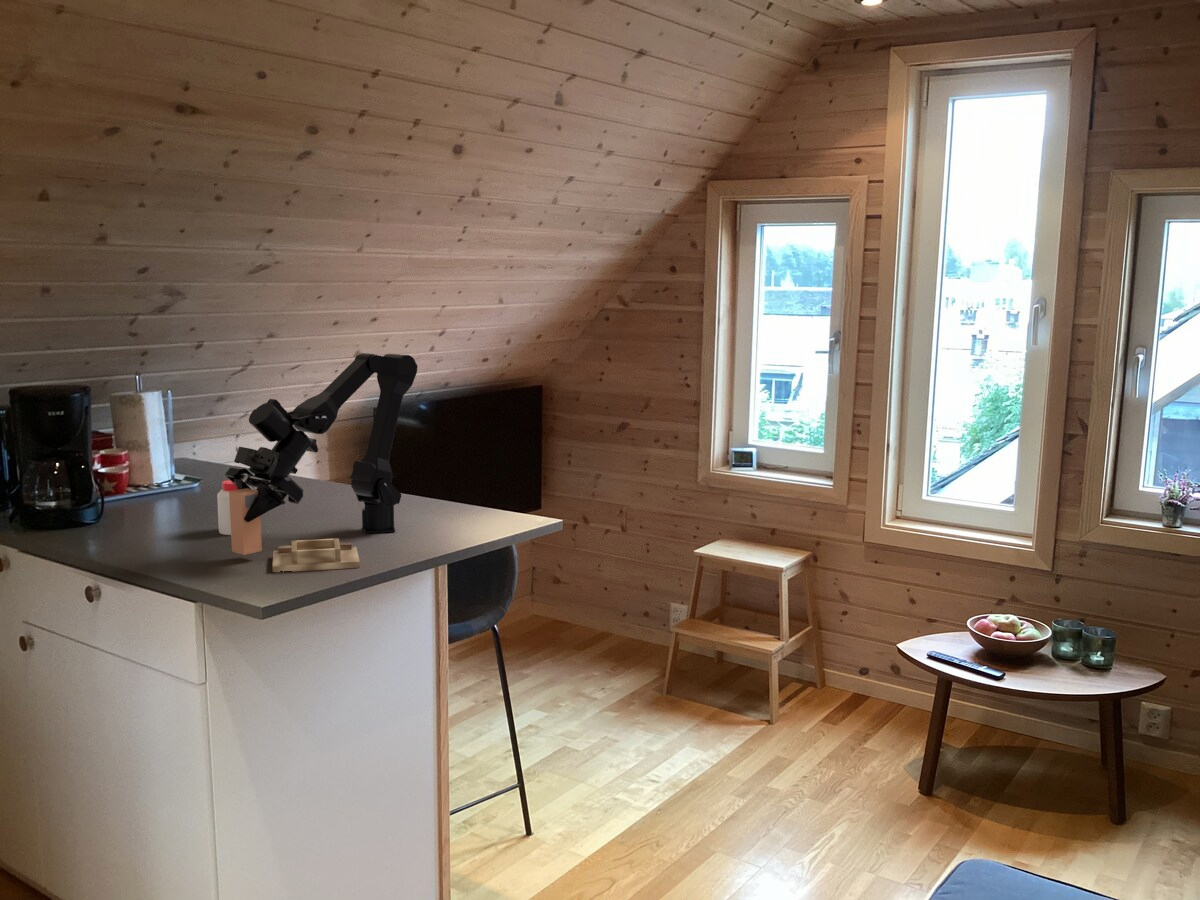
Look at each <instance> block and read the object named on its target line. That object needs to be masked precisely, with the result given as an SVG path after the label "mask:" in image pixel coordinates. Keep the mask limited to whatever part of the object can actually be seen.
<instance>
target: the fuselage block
mask: <svg viewBox="0 0 1200 900" xmlns="http://www.w3.org/2000/svg"><path fill="white" fill-rule="evenodd" d="M257 495H258V491H257V490H252V489H248V488H246V489H241V490H235V491H229V500H230V521H231V535H230V537H231V552H232V553H236V554H238V555H239V554H240V555H243V556H244V555H250V554H254V553H258V552H262V551H263V549H262V526H261V525H262V523H261V516H259V517H257V518H255V519H254V520H252V521H250V522H246V521H245V520H244V518H245V516H246V514H247V512H248V510H249V509H250V507H251V505H252V504H253V502H254V500H255V499H256V497H257Z"/></svg>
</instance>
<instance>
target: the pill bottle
mask: <svg viewBox="0 0 1200 900" xmlns="http://www.w3.org/2000/svg"><path fill="white" fill-rule="evenodd" d="M221 484H222V485H221V486H222V489H220V491H218V492H217V495H216V496H217V519H218V522H217V523H218V533H219V534H221V535H226V536H231V521H230V500H229V491H235V490H238V489H237V486H236V485H235V484H233V483H232V482H231V481H230V480H229V479H227V480H223V481H222V482H221Z"/></svg>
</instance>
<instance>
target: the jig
mask: <svg viewBox="0 0 1200 900" xmlns="http://www.w3.org/2000/svg"><path fill="white" fill-rule="evenodd" d="M360 567H361V561H360V555H359V552H358V549H357V546H352V542H350V541H349V542H340V539H339V538H338V537H337V538H335V537H334V538H321V539H320V538H319V539H318V538H317V539H300V540H297V539H296V540H291V545H278V550H273V555H272V573H273V572H275V573H281V572H280V571H283V572H282V573H285V572H284V571H292V572H304V571H323V570H324V571H325V570H338V569H342V570H343V569H355V568H357V569H358V568H359V569H360Z"/></svg>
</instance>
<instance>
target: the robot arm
mask: <svg viewBox="0 0 1200 900" xmlns="http://www.w3.org/2000/svg"><path fill="white" fill-rule="evenodd" d="M375 373H376V374H377V375H376V380H377V383H378V387H379V391H380V393H379V397H378V402H377V406H376V411H375V416H374V420H373V424H372V428H371V433H370V435H369V436H370V437H369V441H368V446H367V449H366V454H365V456H364V457H363V458H362V459H361V461H360V460H355V461H354V462H353V467H352V473H351V475H350V477H349V479H350V480H351V482H350V483H351V488H352V491H353V492H354V493H355V496H356V498H357V502H362V503H363V507H361V511H360V513H361V514H360V516H361V529H362V530H364V533H365V534H377V533H380V534H381V533H395V532H396V528H395V507H394V506H395V505H398V504H400V502H401V498H402V493H401V492H400V491H399V490H398V489H397V488H396V487H395V486H394V485H393V484H392V481H393V470H392V466H391V463H390V455H391V450H392V448H393V447H392V446H393V443H394V442H393V441H394V438H395V433H396V428H397V424H398V420H399V415H400V411H401V407H402V401H403V398H404V396H405V395H406V393H407V392H408V391H409V390H410V388H411V387H412V386H413V384H414V381H415V379H416V375H417V373H418V364H417V362H416V360H415V359H414V357H413V356H411V355H409V354H398V353H386V354H384V355H377V354H376V353H368V352H361V353H359V354H358V355H356V356H355V358H354V359H353V361H352V362H351V363H350V364H349V365H348V366H347V367H346V368H345V369H344V370H343V371H342V372H341V373H340V374H339V375H338V376H337V377H336V378H335V379H334V380H333V381H332V382H331V383H330V384H329V385H327V386H326V388H325V389H324V390H323V391H322V392H320V393H319V394H316V395H314V396H311V397H310V398H307V399H306V400H304V401H303V402H301V403H300V404H298V405H297V406H295V408H294V409H293V410H292V411H287V410H286V409H285V408H284V407H283V406H282V405H281V403H280V401H278V400H277V399H275V398H269V399H268V400H267V401H266V402H265V403H263V404H261V405H259V406H258V407H256V408H255V409H253V410H252V411H251V413H250V415H249V416H248V417H249V418H248V422H249V424H250V425H251V426H252V427H253V428H254V429H256V431H257V432H259V434H260V435H261V436H262V437H263V438H264V439H266V440H267V441H268V442H269V443H272V442H276V443H275V444H274V446H273V447H272V449H270V448H268V447H263V446H260V447H259V448H258V449H253V448H251V447H250V448H249V447H244V446H239V447H238V448H237V450H236V451H237V452H236V455H235V458H234V463H236V464H241V465H244V466H247V467H249V468H245V467H240V466H232V467H229V469H227V471H226V472H225V474H224V476H225V478H226V479H227V480H230V481H231V482H232V483H233V484H235V485H236V486H237V489H238V490H241V489H246V488H248V489H252V490H257V491H258V495H257V497H256V499H255V500H254V502H253V504H252V505H251V507H250V509H249V510H248V512H247V514H246V516H245V518H244V520H245V521H246V522H250V521H252V520H254V519H255V518H257V517H259V516H260V517H261V516H262V515H264V514H266V513H268V512H270V511H271V510H273V509H275V508H278V507H279V506H282V505H284V506H285V504H286V501H285V499H286V497H287V496H288V497H287V501H288V503H291V504H294V505H295V504H297V505H299V504H300V503H301V502H302V500H303V498H304V496H305V495H304V489H303V488H302V487H301V486H300V485H299V484H298V483H296V481H294V480H293V478H291V477H290V475H291V474H294V475H297V473H298V471H299V469H298V468H297V465H298V464H299V462H300V461H301V459H302V458H303V457H304V455H305V454H306V453H307V452H309V453H310V452H311V453H318V452H319V448H318V444H317V439H316V438H313V437H309V436H308V435H307V434H309V433H310V434H314V435H315V434H316V435H324V434H325V433H326V432H328V431H329V430H330V428H331V427H332V426H333V424H334V423H335V421H336V420H337V418H338V413H339V410H340V409H341V408H342V406H343V405H344V403H346V402H347V401H348V400H349V399H350V398H351V397H352V396H353V395H354V394H355V393H356V392H357V391H358V390H359V389H360V387H362V386H363V385H364V384H365V382H366V381H368V380H369V379H370V377H371V376H373V375H374V374H375ZM306 433H307V434H306ZM253 474H254V475H253Z"/></svg>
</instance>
